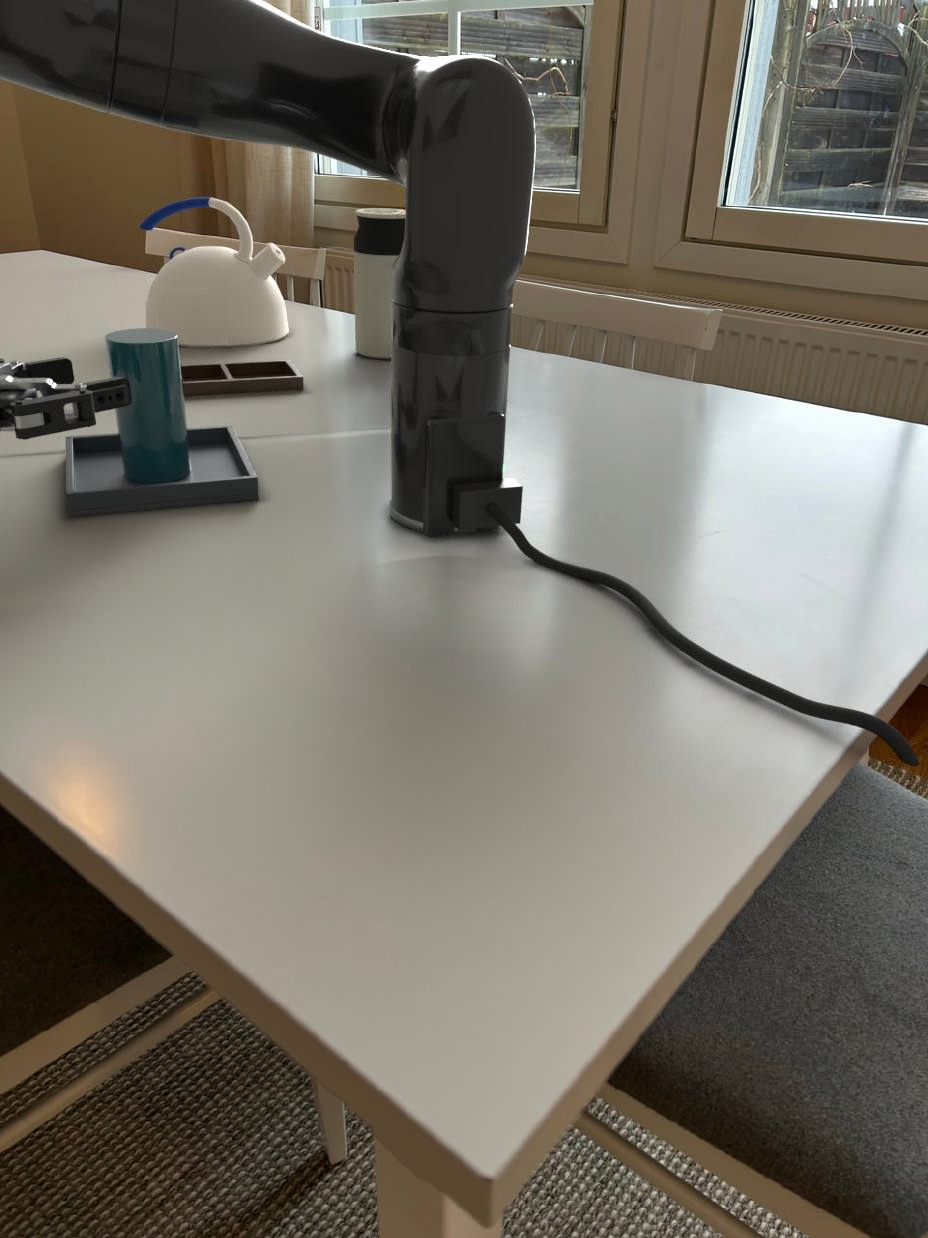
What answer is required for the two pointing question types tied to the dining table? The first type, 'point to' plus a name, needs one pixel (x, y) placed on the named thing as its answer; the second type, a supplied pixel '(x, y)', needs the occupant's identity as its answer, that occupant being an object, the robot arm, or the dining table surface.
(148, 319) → the kettle
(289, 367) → the tray
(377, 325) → the travel mug
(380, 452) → the dining table surface
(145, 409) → the teal cylinder
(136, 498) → the tray
